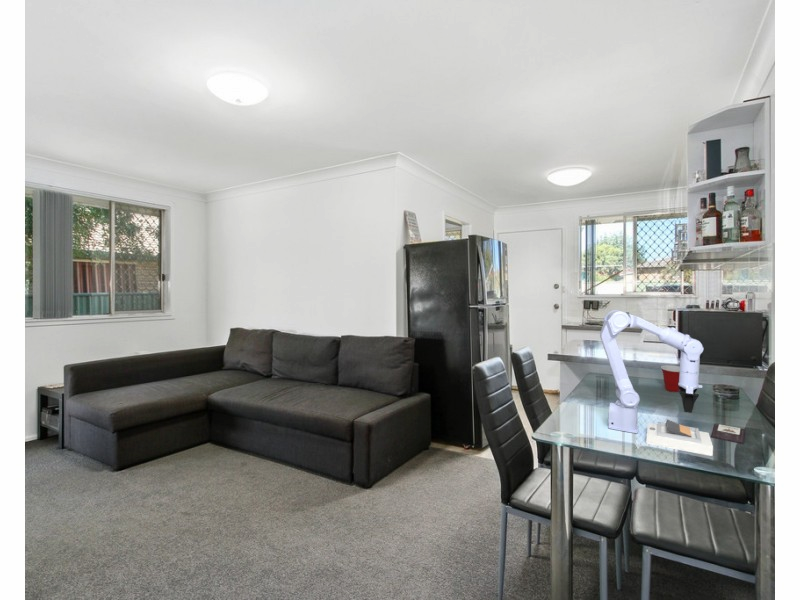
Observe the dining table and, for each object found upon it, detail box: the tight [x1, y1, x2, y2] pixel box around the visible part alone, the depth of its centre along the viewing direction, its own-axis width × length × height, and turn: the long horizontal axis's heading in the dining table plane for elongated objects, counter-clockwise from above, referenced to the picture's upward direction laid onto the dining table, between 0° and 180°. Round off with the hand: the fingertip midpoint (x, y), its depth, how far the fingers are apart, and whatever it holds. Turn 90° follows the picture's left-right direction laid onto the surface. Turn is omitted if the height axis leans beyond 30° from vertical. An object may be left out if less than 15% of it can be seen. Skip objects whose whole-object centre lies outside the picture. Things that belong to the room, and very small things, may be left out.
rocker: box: [665, 419, 692, 437], centre depth 143 cm, size 7×9×2 cm
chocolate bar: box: [710, 423, 746, 445], centre depth 152 cm, size 9×1×18 cm
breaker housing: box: [645, 421, 714, 457], centre depth 143 cm, size 18×15×4 cm
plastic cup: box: [660, 364, 680, 393], centre depth 214 cm, size 11×11×12 cm
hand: (687, 409), depth 150 cm, fingers open, 7 cm apart
